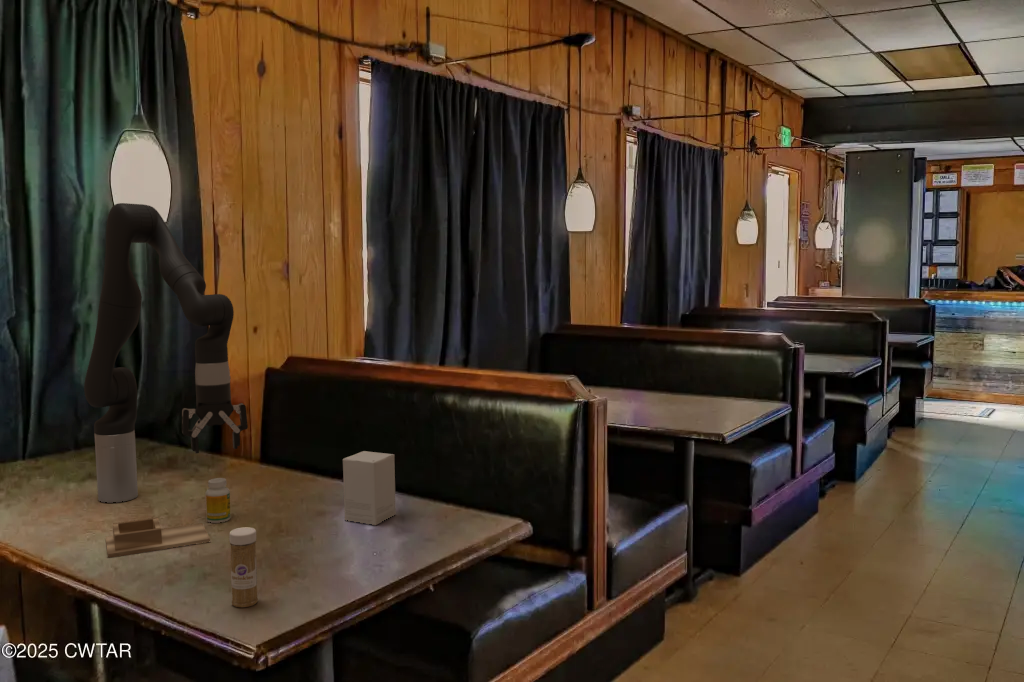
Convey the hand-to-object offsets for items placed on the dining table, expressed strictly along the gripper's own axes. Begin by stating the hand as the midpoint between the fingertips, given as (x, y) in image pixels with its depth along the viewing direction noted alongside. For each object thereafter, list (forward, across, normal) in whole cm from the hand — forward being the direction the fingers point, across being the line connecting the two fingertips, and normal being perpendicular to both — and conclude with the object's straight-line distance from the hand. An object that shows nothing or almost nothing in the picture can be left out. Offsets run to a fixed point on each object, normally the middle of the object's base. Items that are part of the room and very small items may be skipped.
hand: (216, 450), depth 197 cm
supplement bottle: (+17, 0, 0) cm, 17 cm away
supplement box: (+17, -32, +15) cm, 39 cm away
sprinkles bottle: (+17, +3, +51) cm, 54 cm away
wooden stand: (+17, +14, +9) cm, 24 cm away
